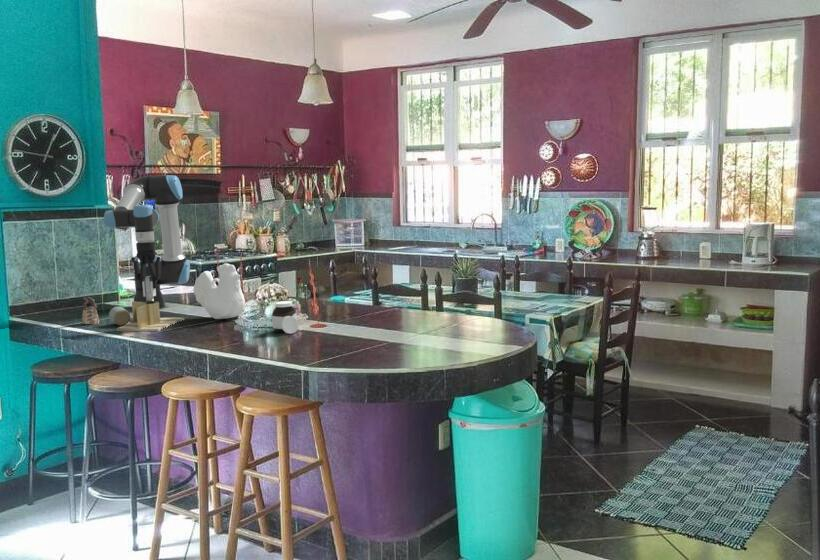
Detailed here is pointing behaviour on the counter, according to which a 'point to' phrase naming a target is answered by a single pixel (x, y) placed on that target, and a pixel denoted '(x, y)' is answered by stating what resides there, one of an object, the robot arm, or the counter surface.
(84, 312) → the figurine
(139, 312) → the brass hinge
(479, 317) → the counter surface
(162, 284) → the robot arm
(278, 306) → the spread jar
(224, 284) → the decorative rooster
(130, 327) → the birch board
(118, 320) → the ceramic mug
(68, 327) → the counter surface
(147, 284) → the hinge pin
